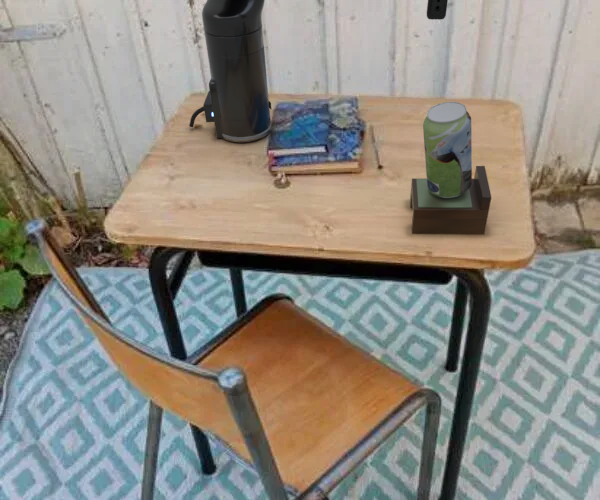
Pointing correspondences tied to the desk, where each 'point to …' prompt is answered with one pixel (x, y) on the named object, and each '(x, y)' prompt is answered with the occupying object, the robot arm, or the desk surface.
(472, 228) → the miniature bed
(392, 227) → the desk surface
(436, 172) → the beverage can
